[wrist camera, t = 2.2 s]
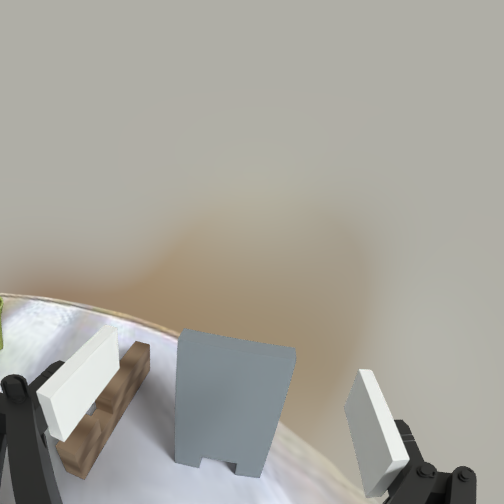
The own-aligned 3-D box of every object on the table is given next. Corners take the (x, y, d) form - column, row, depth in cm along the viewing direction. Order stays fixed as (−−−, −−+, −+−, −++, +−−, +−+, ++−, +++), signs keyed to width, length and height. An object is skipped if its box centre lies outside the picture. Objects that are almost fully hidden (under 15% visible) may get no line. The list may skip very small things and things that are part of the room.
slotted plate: (174, 462, 30) (178, 338, 25) (178, 450, 31) (184, 328, 27) (259, 477, 29) (296, 359, 25) (260, 465, 31) (295, 347, 27)
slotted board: (84, 479, 23) (74, 455, 22) (66, 471, 23) (55, 445, 22) (149, 369, 46) (149, 344, 45) (136, 366, 46) (135, 340, 45)
